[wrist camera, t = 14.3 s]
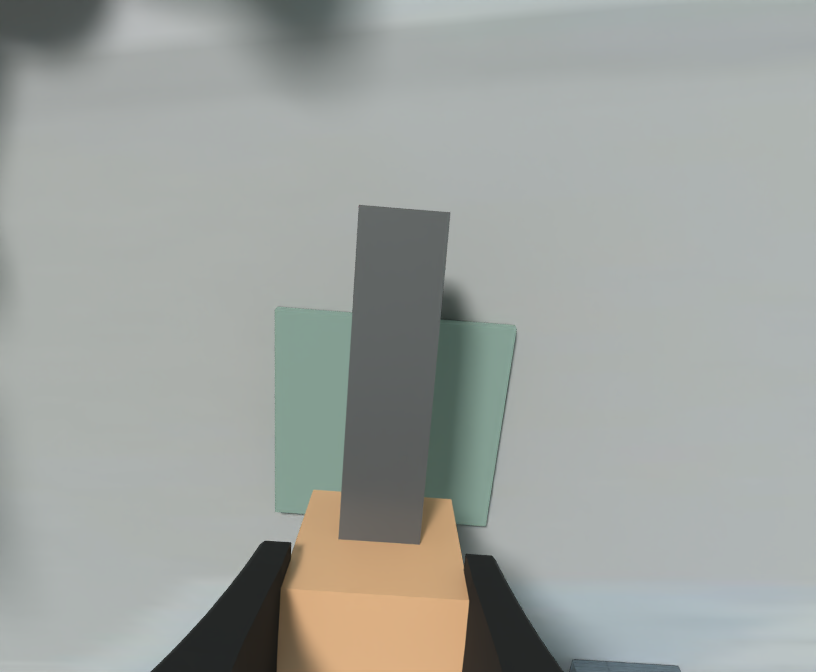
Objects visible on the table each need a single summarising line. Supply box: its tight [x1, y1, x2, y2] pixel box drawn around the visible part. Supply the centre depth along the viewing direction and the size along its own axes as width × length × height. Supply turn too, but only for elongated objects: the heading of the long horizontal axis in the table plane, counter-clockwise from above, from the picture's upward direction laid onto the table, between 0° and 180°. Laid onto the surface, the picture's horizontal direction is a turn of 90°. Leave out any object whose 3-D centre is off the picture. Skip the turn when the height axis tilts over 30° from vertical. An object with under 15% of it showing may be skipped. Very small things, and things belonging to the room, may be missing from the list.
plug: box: [277, 205, 469, 672], centre depth 14 cm, size 4×13×4 cm, turn 175°
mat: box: [275, 307, 517, 526], centre depth 20 cm, size 8×8×1 cm
